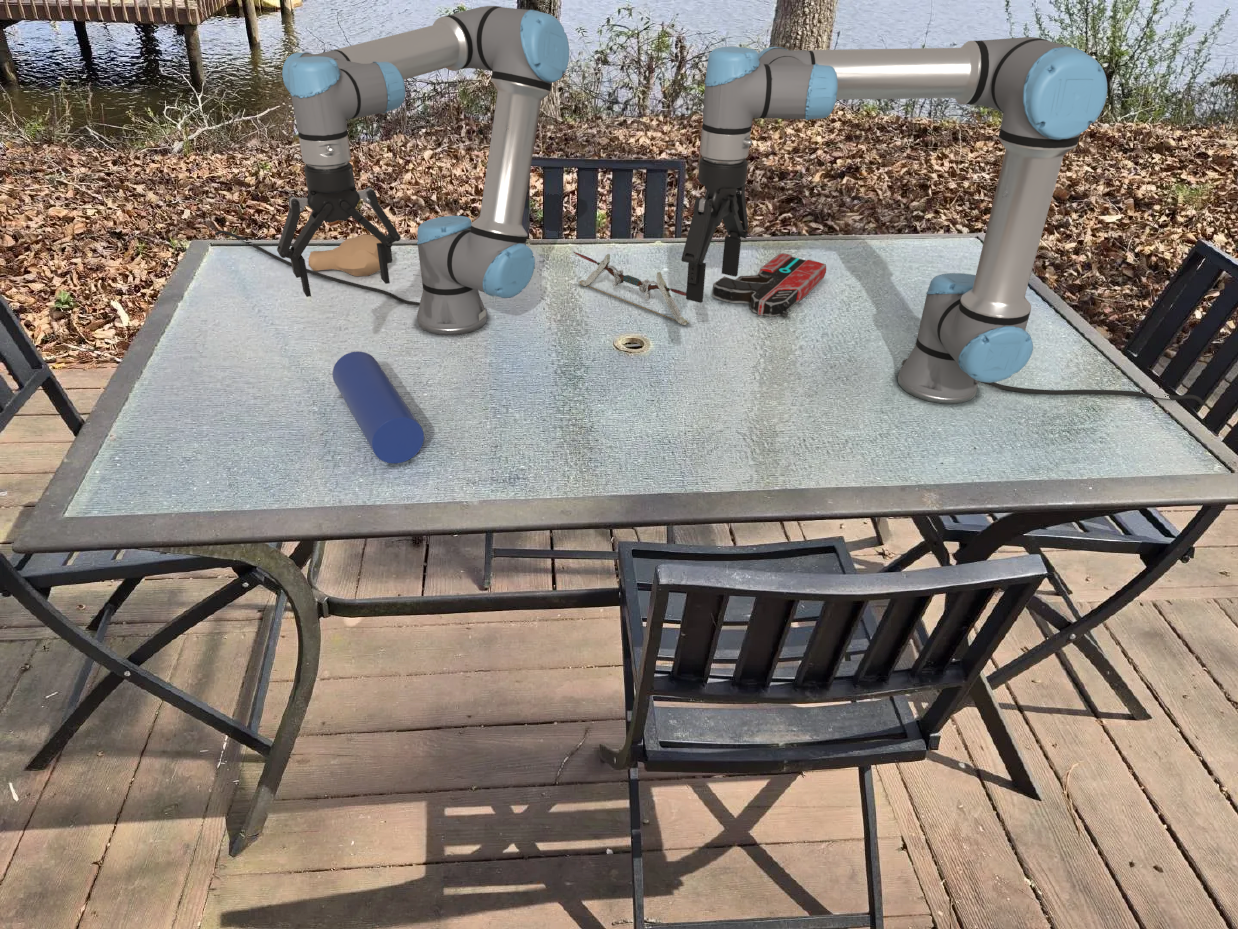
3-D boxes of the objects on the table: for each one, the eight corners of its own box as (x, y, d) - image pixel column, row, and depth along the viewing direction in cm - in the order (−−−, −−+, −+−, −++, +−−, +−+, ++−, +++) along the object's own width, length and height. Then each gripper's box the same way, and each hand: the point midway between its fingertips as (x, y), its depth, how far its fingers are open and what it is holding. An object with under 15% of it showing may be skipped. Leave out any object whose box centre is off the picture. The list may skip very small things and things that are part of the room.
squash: (388, 280, 216) (377, 247, 210) (309, 287, 218) (296, 255, 212) (396, 257, 224) (386, 225, 218) (320, 264, 226) (308, 233, 219)
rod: (336, 397, 167) (328, 356, 162) (381, 387, 171) (375, 347, 166) (376, 469, 148) (368, 424, 143) (426, 456, 151) (421, 412, 146)
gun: (708, 284, 207) (784, 305, 199) (760, 245, 229) (831, 262, 221) (706, 302, 209) (781, 323, 201) (758, 261, 231) (828, 278, 223)
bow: (697, 327, 197) (701, 285, 192) (692, 329, 196) (696, 287, 191) (576, 279, 219) (576, 241, 213) (571, 281, 218) (571, 242, 212)
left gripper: (250, 177, 133) (277, 307, 145) (410, 160, 144) (423, 283, 155) (242, 165, 139) (268, 291, 151) (396, 149, 149) (410, 268, 161)
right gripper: (710, 180, 125) (699, 317, 137) (777, 145, 143) (762, 268, 155) (664, 171, 128) (657, 306, 140) (735, 138, 146) (723, 260, 158)
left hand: (347, 287), depth 153 cm, fingers open, 13 cm apart
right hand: (712, 287), depth 148 cm, fingers open, 13 cm apart
